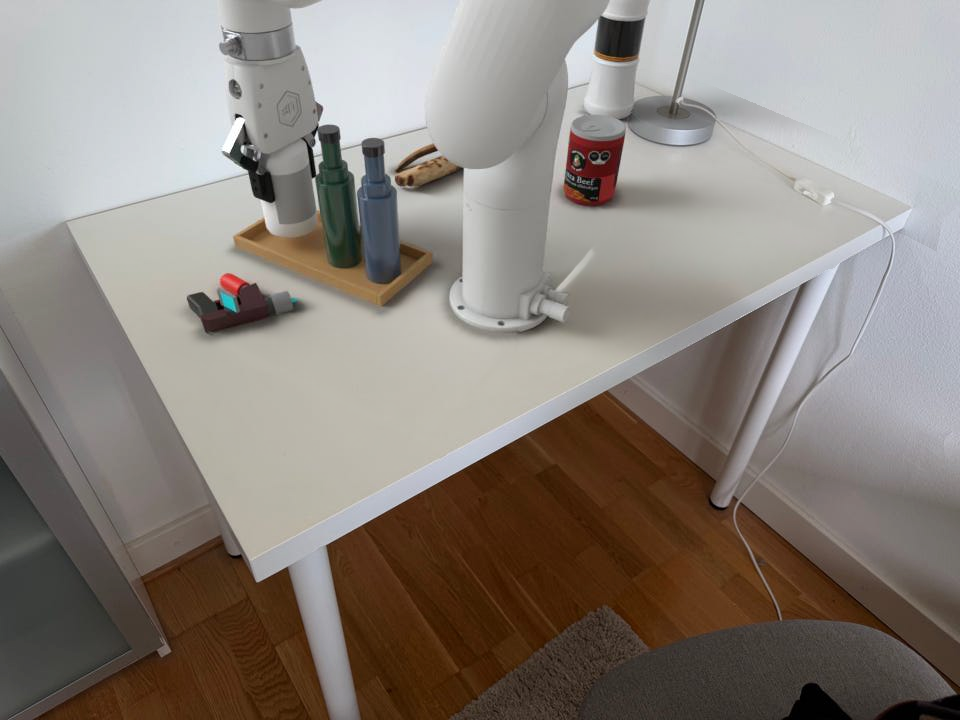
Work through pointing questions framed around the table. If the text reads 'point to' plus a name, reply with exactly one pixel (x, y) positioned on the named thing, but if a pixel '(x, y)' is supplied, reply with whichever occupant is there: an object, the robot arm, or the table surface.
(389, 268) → the slate bottle
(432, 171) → the lashed bone hook
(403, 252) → the tray
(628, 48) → the vodka
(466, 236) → the robot arm
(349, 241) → the green bottle
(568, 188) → the canned food
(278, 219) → the spray bottle
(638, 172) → the table surface
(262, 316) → the toy gun
